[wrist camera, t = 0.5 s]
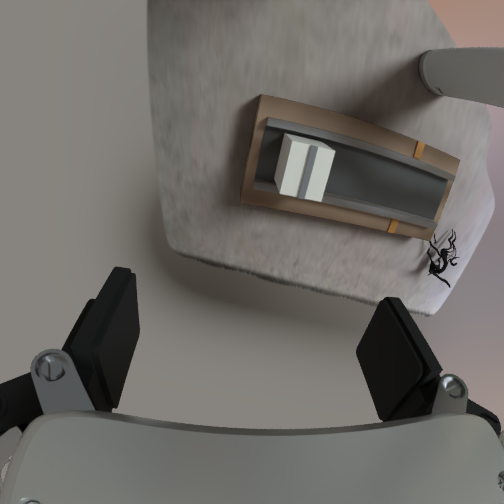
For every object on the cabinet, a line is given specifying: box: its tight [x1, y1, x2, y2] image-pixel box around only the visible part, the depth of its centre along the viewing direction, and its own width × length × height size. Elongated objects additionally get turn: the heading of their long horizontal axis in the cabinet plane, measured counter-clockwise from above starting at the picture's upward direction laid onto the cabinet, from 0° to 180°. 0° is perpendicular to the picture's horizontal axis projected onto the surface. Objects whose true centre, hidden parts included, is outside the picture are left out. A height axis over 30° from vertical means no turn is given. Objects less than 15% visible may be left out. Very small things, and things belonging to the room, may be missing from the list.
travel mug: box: [419, 47, 504, 108], centre depth 19 cm, size 6×7×20 cm
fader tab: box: [274, 133, 335, 202], centre depth 28 cm, size 5×4×5 cm
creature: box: [427, 229, 458, 288], centre depth 38 cm, size 8×5×8 cm
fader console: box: [240, 94, 460, 241], centre depth 33 cm, size 12×26×4 cm, turn 79°
